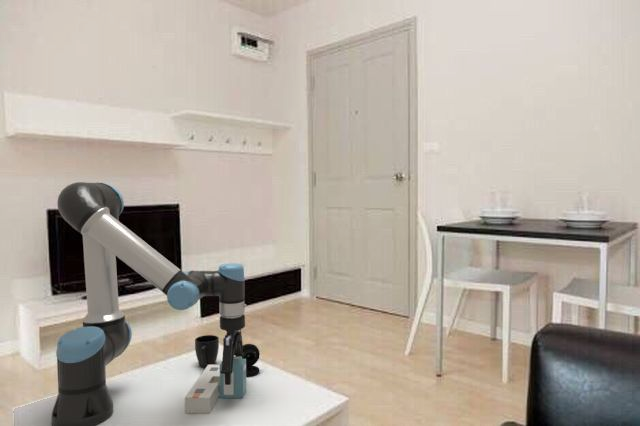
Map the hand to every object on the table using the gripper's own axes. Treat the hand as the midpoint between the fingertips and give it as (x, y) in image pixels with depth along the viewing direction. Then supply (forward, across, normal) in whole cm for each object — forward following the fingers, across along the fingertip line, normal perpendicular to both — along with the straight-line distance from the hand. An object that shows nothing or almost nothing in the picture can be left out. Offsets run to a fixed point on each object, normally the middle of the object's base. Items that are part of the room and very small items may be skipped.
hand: (233, 385), depth 138 cm
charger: (+3, 0, +2) cm, 3 cm away
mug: (+3, +22, +14) cm, 26 cm away
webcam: (+3, +16, -2) cm, 17 cm away
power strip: (+3, +4, +8) cm, 9 cm away
